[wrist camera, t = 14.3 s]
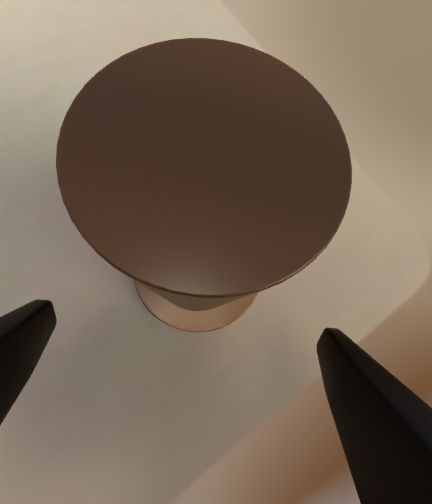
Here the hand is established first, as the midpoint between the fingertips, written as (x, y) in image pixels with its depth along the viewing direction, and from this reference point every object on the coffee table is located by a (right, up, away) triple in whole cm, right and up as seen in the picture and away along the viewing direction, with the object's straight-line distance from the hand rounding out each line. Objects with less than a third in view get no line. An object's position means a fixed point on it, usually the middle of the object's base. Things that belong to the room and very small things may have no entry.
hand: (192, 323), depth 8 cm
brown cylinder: (0, +2, +7) cm, 7 cm away
